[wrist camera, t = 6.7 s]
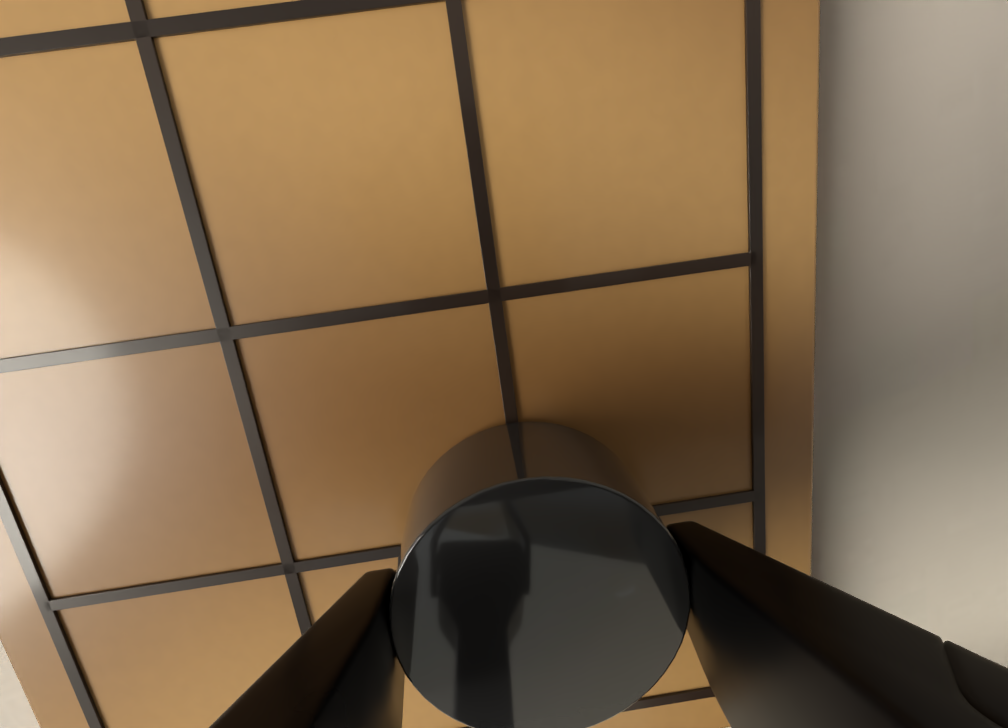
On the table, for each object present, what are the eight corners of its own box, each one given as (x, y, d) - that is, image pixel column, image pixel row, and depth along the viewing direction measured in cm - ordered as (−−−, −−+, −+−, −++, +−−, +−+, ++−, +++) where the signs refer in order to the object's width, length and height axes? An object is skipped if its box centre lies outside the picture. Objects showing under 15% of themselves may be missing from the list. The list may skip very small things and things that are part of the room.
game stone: (650, 614, 9) (698, 713, 7) (427, 650, 9) (417, 761, 7) (634, 402, 8) (684, 454, 6) (384, 440, 8) (359, 504, 6)
